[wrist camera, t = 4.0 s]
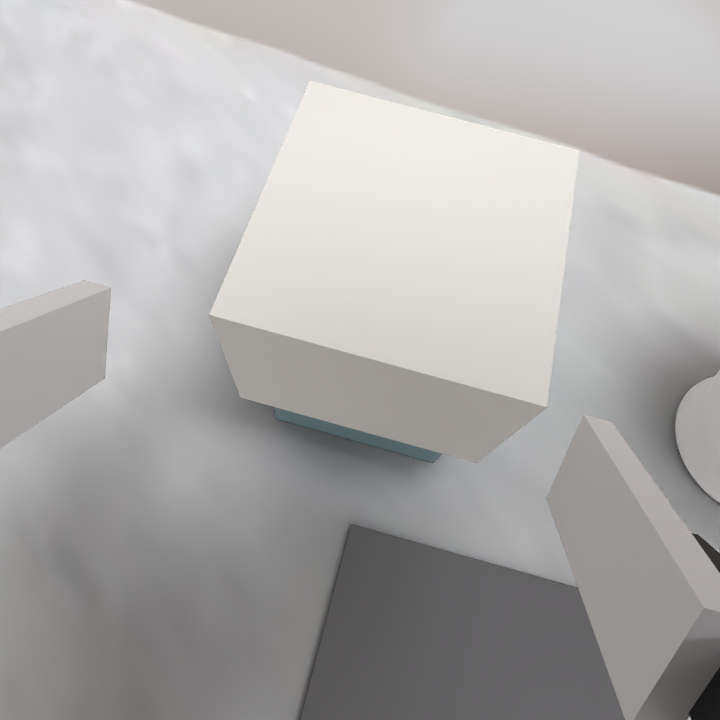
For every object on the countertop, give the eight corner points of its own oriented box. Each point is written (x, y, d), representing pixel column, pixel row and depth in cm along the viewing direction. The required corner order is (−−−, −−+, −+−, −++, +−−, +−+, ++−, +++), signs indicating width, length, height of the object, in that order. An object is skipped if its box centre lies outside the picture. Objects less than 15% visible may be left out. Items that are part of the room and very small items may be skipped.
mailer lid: (511, 263, 28) (579, 150, 21) (475, 463, 24) (547, 407, 17) (310, 210, 29) (310, 80, 21) (240, 397, 24) (208, 314, 17)
